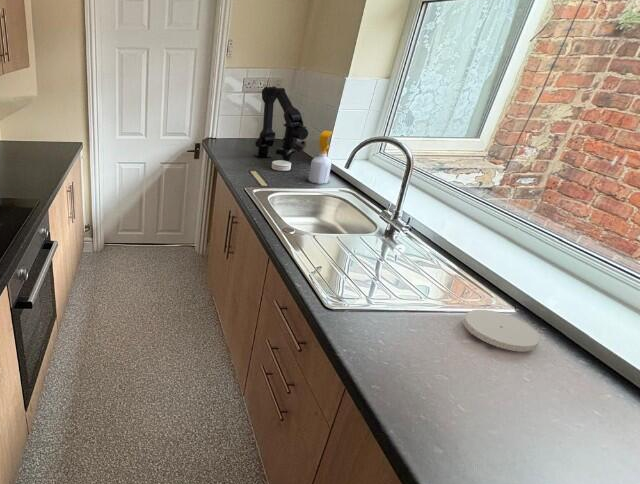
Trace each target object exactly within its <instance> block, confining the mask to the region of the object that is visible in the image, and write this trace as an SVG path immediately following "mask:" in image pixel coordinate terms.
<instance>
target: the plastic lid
mask: <svg viewBox="0 0 640 484" xmlns="http://www.w3.org/2000/svg"><path fill="white" fill-rule="evenodd" d="M462 323H463V326H464V328H465V329H466V330H467V331H468V332H469V333H470V334H471V335H472V336H475V337H476V338H477V339H479V340H481V341H483V342H484V343H485V342H486V343H487V344H489V345H492V346H494V347H497V348H499V349H504V350H508V351H510V352H511V351H513V352H520V353H521V352H522V353H523V352H531V351H534V350H536V349H537V348H538V346H539V344H540V342H541V336H540V334H539V333H538V331H536V329H534V328H533V327H532V326H530V325H529V324H528V323H526V322H525V321H522V320H521V319H519V318H516V317H513V316H512V315H508V314H506V313H503V312H500V311H495V310H489V309H472V310H469V311H467V312H466V313H465V315H464V317H463V320H462Z"/></svg>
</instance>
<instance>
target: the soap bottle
mask: <svg viewBox="0 0 640 484" xmlns="http://www.w3.org/2000/svg"><path fill="white" fill-rule="evenodd" d="M332 134H334V133H333V131H332V130H323V131H322V132H321V133H320V135H319V140H318V146H317V147H318V148H319V147H320V149H321V150H320V151H319V153H318V156H315V157H313V158H312V159H311V163H310V168H309V174H308V177H307V178H308V182H309V183H312V184H317V185H323V184H327V183H328V182H329V178H330V173H331V168H332V164H333V163H332V160H331V159H330V158H329V157H328V156H327V155H328V151H327V150H328V148H330V147H331V145H330V144H329V140H330V137H331V135H332Z"/></svg>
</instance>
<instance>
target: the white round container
mask: <svg viewBox="0 0 640 484" xmlns="http://www.w3.org/2000/svg"><path fill="white" fill-rule="evenodd" d="M291 167H292V162H291V161H284V160H283V159H282V160H281V159H278V160H273V161H271V169H272V170H274V171H277V172H287V171H290V170H291Z"/></svg>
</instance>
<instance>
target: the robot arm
mask: <svg viewBox="0 0 640 484" xmlns="http://www.w3.org/2000/svg"><path fill="white" fill-rule="evenodd" d="M261 99H262V102H263V103H264V108H263V121H262V122H263V123H262V124H263V125H262V130H261V131H260V133H259V137H258V139H257V140H256V141H255V147H257V148H258V151H257V153H256V154H255V157H257V158H259V159H263V158H270V157H271V156H270V155H269V149H270V147H273V146H274V143H275V140H276V132H275V131H274V130H273V119H274V105H275V102H276V101H278V103H279V105H280V107H281V109H282V111H283V119H284V121H285V123H284V124H283V127H285V131H284V137H282V141H283V142H282V143H283V144H282V145H281V147H279V148H277V149H276V150H275V155H279V156H281V157H282V160H283V161H288V162H290V159H291V156H292V155H293V154H294V153H296V151H297V152H298V153H301V152H304V150H305V148H306V147H307V144H306V143H307V141H305V140H306V139H307V138H308V135H309V131H308V129H307V126H305V125H304V121H303V117H302V113H301V112H300V111H299V110H298V109H297V108H296V107H294V105H293V104H292V102H291V100H290V98H289V96H288V95H287V93H286V89H285V88H284V87H277V86H264V88H262V90H261ZM298 140H299V141H298Z"/></svg>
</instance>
